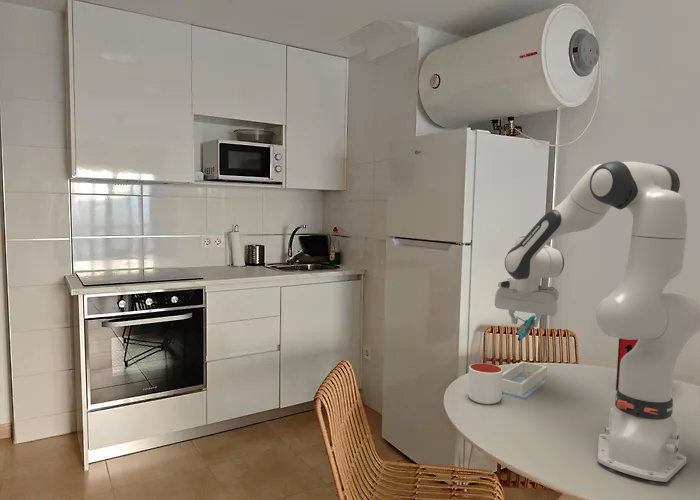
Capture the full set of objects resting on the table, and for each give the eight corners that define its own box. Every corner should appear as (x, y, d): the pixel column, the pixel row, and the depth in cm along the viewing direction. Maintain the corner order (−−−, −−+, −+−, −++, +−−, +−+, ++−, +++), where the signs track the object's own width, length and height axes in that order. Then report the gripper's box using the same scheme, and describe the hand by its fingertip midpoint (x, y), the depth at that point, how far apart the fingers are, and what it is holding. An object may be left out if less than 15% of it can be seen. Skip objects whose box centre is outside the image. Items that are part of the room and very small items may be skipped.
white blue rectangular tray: (525, 400, 152) (526, 386, 152) (488, 391, 160) (488, 377, 159) (551, 379, 173) (552, 366, 173) (518, 371, 181) (518, 359, 180)
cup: (467, 403, 149) (469, 371, 148) (468, 392, 158) (469, 361, 158) (502, 407, 146) (503, 374, 146) (500, 395, 156) (501, 364, 155)
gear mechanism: (514, 348, 157) (526, 323, 155) (498, 339, 160) (510, 314, 157) (531, 336, 174) (542, 313, 171) (517, 329, 176) (527, 306, 174)
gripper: (561, 286, 160) (559, 328, 161) (500, 280, 173) (499, 319, 174) (555, 288, 155) (553, 331, 156) (493, 282, 168) (491, 321, 169)
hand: (524, 325), depth 165 cm, fingers closed on gear mechanism, 5 cm apart
